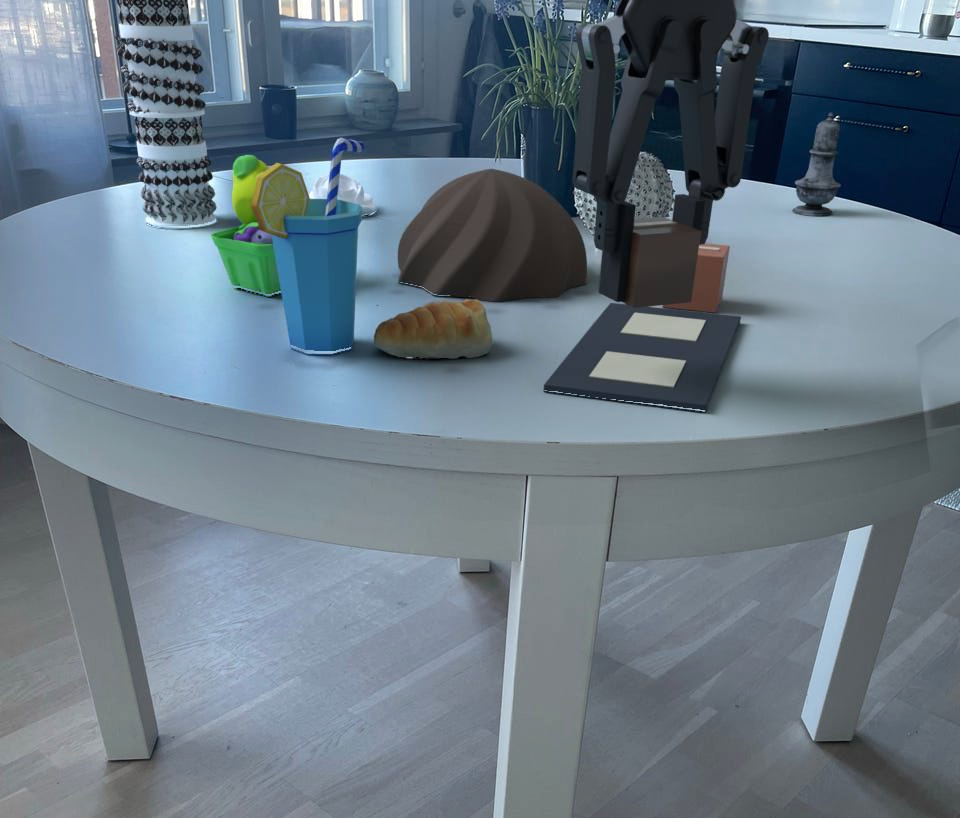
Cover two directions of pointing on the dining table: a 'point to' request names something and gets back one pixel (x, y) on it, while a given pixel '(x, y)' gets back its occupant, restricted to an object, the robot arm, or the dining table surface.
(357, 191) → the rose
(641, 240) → the letter block
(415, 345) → the pastry
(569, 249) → the decorative dome
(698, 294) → the letter block
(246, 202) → the fruit basket
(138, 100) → the bracelet display cylinder
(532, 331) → the dining table surface
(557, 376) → the word mat
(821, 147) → the salt shaker
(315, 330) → the cup
